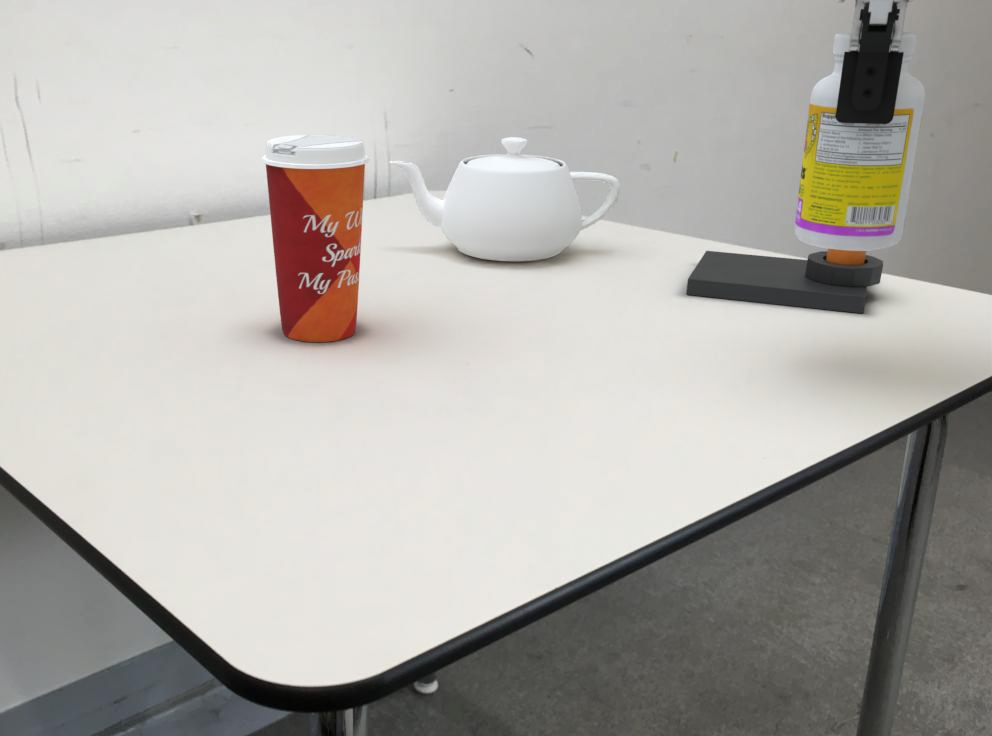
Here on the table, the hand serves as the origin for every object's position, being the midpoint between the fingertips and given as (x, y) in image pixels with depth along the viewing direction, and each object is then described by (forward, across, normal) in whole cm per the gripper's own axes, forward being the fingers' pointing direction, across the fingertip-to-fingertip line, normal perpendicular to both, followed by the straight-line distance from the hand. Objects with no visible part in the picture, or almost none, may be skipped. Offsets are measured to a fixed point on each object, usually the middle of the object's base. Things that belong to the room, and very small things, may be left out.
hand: (864, 113), depth 69 cm
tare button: (+14, -21, 0) cm, 25 cm away
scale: (+17, -21, -5) cm, 27 cm away
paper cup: (+16, +6, -36) cm, 40 cm away
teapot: (+17, -24, -31) cm, 42 cm away
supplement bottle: (+8, 0, 0) cm, 8 cm away
